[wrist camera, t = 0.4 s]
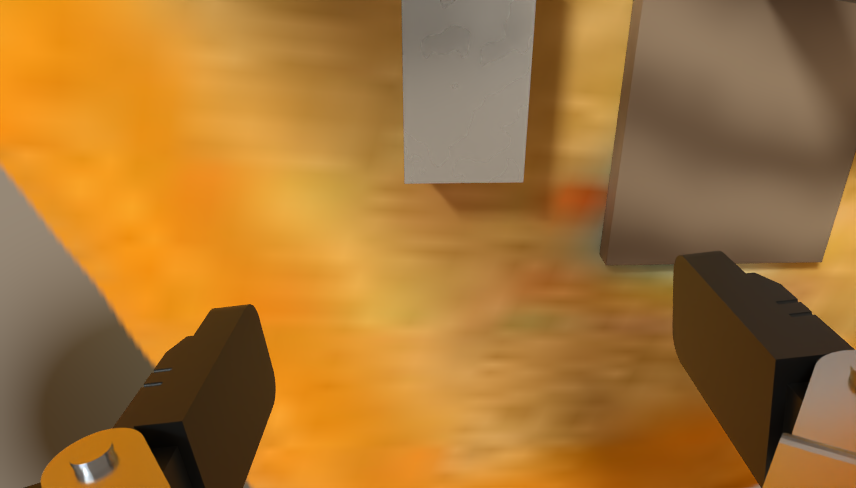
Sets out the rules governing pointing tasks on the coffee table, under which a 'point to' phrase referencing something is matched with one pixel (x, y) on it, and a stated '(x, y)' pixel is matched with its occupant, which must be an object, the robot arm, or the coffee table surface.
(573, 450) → the coffee table surface
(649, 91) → the hinge base
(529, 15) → the hinge leaf
